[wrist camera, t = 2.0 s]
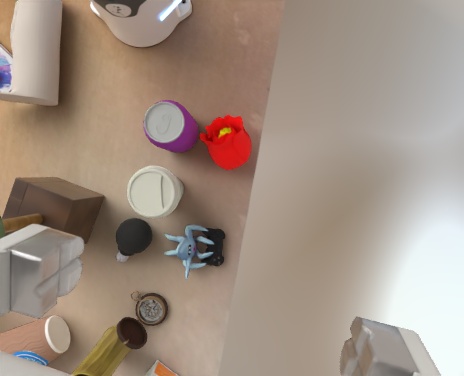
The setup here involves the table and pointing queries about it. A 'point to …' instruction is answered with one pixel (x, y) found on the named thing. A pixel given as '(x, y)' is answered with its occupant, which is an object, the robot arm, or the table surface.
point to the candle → (35, 52)
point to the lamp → (50, 207)
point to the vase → (104, 356)
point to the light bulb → (132, 238)
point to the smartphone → (5, 69)
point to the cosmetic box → (160, 370)
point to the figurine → (189, 247)
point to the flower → (227, 142)
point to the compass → (142, 320)
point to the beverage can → (170, 126)
